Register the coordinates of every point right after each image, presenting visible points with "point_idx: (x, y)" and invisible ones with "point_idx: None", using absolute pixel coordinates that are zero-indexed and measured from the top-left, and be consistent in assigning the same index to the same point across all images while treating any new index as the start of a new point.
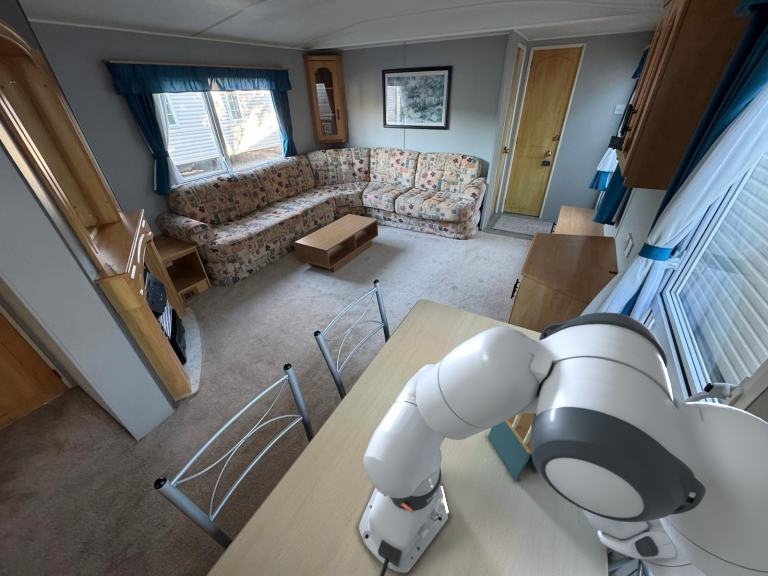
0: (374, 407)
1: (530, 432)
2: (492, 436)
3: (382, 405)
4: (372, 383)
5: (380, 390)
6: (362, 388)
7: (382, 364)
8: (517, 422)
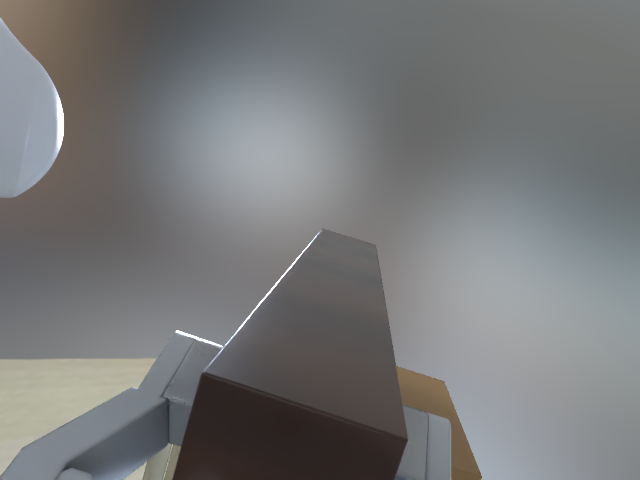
0: (7, 394)
1: (146, 469)
2: None
3: (26, 402)
4: (68, 370)
5: (63, 385)
6: (40, 364)
7: (130, 365)
8: (171, 466)
